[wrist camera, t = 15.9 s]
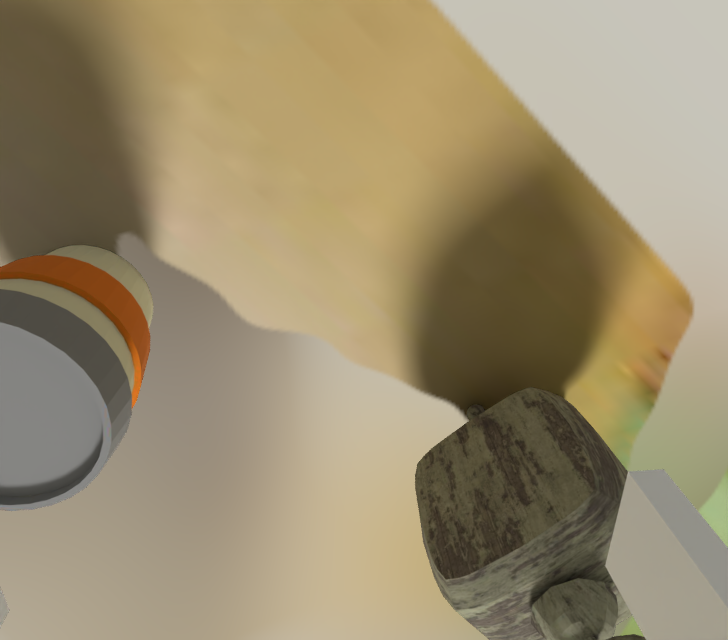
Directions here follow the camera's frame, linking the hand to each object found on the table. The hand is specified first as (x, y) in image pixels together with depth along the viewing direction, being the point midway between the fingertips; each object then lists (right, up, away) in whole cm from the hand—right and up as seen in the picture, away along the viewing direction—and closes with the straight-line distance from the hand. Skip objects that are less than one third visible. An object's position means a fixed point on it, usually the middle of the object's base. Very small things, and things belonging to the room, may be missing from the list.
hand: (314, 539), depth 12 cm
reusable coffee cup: (-19, +6, +31) cm, 37 cm away
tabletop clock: (+12, -4, +39) cm, 41 cm away
